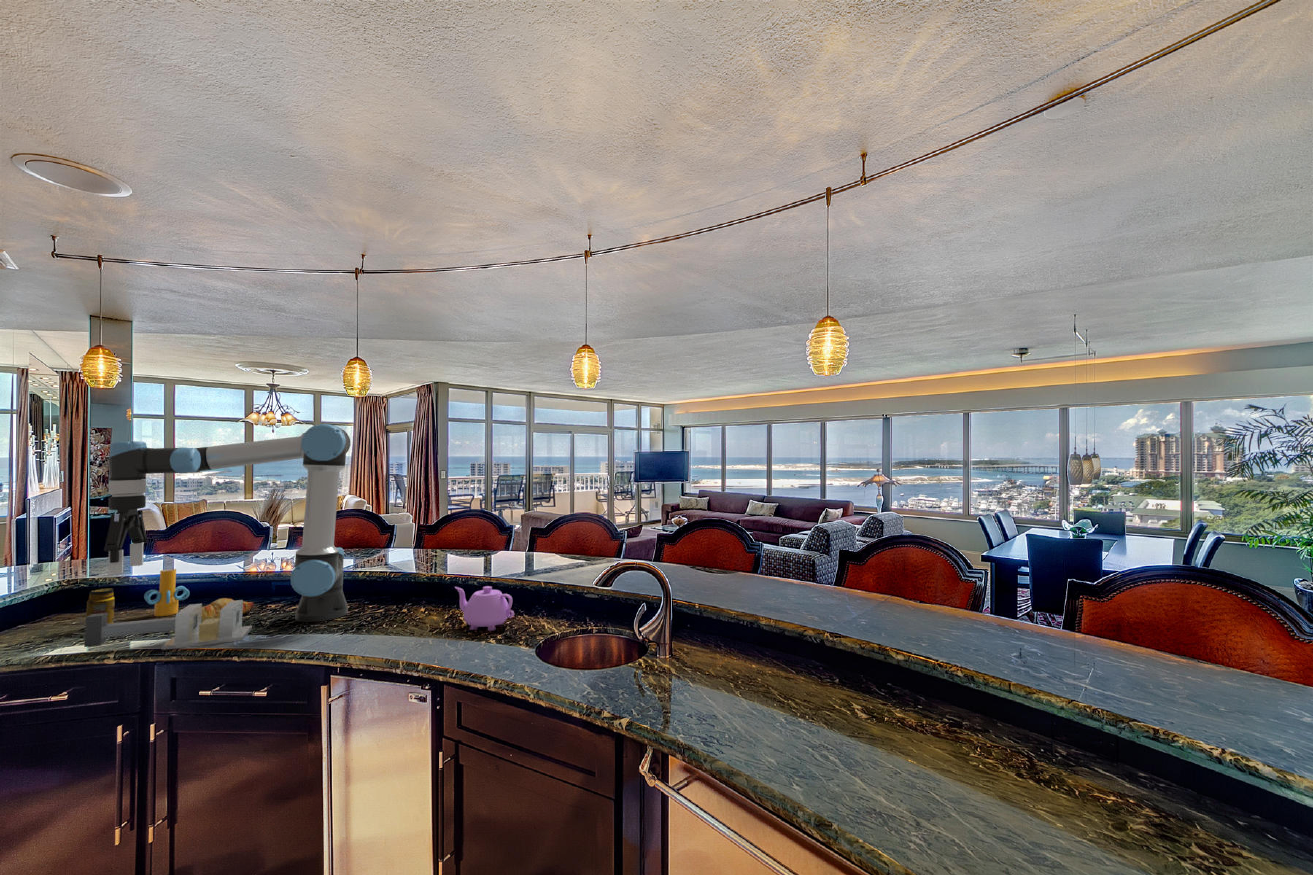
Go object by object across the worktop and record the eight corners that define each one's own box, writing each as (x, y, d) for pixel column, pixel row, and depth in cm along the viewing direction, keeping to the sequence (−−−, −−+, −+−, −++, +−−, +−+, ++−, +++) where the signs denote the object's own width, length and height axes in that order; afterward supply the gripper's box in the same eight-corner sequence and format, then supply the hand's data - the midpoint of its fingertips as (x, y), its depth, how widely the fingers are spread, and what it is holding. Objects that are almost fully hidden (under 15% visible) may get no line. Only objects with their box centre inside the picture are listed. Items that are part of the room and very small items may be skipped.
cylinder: (158, 620, 174) (160, 574, 175) (133, 618, 176) (136, 573, 177) (197, 610, 186) (199, 567, 187) (173, 608, 188) (175, 566, 189)
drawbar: (195, 632, 156) (196, 604, 157) (191, 635, 154) (193, 607, 154) (90, 643, 146) (91, 614, 147) (84, 647, 143) (85, 617, 144)
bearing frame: (251, 628, 166) (253, 598, 166) (242, 640, 155) (243, 608, 156) (177, 636, 158) (179, 605, 158) (161, 649, 147) (163, 615, 148)
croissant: (185, 640, 166) (192, 619, 164) (168, 621, 169) (176, 600, 168) (257, 620, 185) (264, 600, 184) (241, 604, 189) (248, 585, 187)
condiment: (120, 624, 170) (122, 586, 170) (103, 632, 162) (105, 592, 163) (90, 626, 167) (92, 588, 168) (72, 635, 159) (74, 594, 160)
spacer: (205, 632, 159) (222, 631, 161) (198, 638, 153) (216, 636, 155) (205, 619, 159) (222, 617, 161) (199, 624, 154) (216, 623, 155)
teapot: (443, 631, 164) (444, 591, 165) (464, 618, 178) (465, 580, 179) (505, 634, 162) (505, 593, 163) (521, 620, 176) (522, 582, 177)
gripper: (128, 493, 161) (127, 563, 160) (87, 498, 139) (86, 580, 138) (161, 492, 164) (160, 560, 163) (126, 497, 142) (125, 576, 141)
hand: (126, 569), depth 151 cm, fingers open, 13 cm apart
